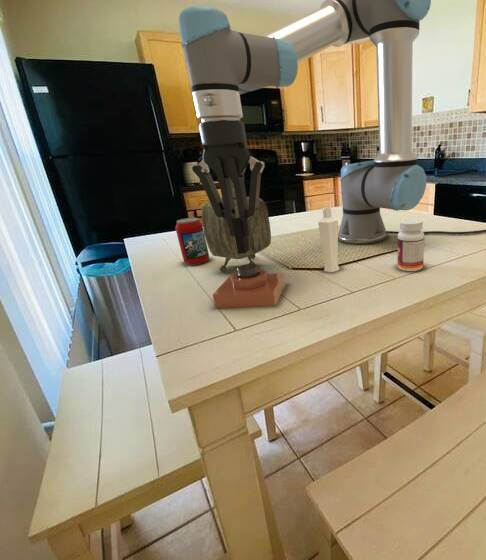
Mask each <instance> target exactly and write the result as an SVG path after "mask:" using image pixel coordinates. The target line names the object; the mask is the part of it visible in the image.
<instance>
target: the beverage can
mask: <svg viewBox="0 0 486 560" xmlns="http://www.w3.org/2000/svg"><path fill="white" fill-rule="evenodd" d="M175 232H176V236H177V240H178V244H179V248H180V252H181V256H182V259H183V262H184V263H185V264H188V265H189V266H190V265H191V266H195V265H196V266H197V265H201V264H204V263H206V262H207V261H208V260H209V259H210V254H209V247H208V245H207V241H206V238H205V235H204V230H203V223H202V221H200V220H199V217H187V218H181V219H178V220H176V224H175Z"/></svg>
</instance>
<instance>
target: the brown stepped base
mask: <svg viewBox="0 0 486 560" xmlns="http://www.w3.org/2000/svg"><path fill="white" fill-rule="evenodd" d="M258 273H259V275H257V276H255V277H252V278H239V276H238V271H236V272H233V273H232V274H231V275H229V276H228V277H227V278H226V279H225V280H224V281H223V282H222V283H221V285H220V286H219V287H218V288H217V289H215V291H214V292H213V293H212V298H213V303H214V307H215V309H225V308H226V309H228V308H252V307H253V308H254V307H255V308H256V307H275V306H276V305H277V303H278V301H279V299H280V297H281V295H282V293H283V291H284V289H285V287H286V281H285V280H286V279H285V274H284V273H283V272H282V273H280V272H279V273H267V271H266V270H265V269H264V268H259V267H258Z"/></svg>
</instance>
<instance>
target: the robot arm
mask: <svg viewBox="0 0 486 560" xmlns="http://www.w3.org/2000/svg"><path fill="white" fill-rule="evenodd" d="M431 3H432V0H324V1H323V2H321V4H320V7H319V8H318V9H315V10H314V11H312V12H310V13H308V14H306V15H304V16H302V17H299V18H297V19H295V20H293V21H290V22H289V23H287V24H285V25H282V26H280V27H278V28H276V29H274V30H272V31H271V30H270V31H269V32H267V33H265V34H263V35H259V34H252V33H245V32H240V31H237V30H232V29H231V24H230V21H229V17H228V15H227V14H226V12H224V11H223V10H219V9H218V8H216V7H213V6H207V5H193V6H189V7H186V8H184V9H183V10H182V11H180V13H179V15H178V25H179V34H180V40H181V48H182V51H183V55H184V59H185V65H186V69H187V74H188V77H189V82H190V87H191V93H192V98H193V103H194V108H195V113H196V114H195V115H196V118H197V119H198V120H200V121H201V122H199V125H198V130H199V135H200V139H201V144H202V147H203V153H202V160H201V161H200V162H199V163H197V164H195V165H193V166H191V170H192V172H193V173H194V174H195V175H196V176H197V177H198V179H199V180H200V182H201V185H202V188H203V190H204V191H205V194H206V196H207V199H208V202H209V201H210V203H211V205H212V207H213V210H214V212H215V214H216V216H217V217H222V218H225V219H226V220H227V222H228V227H229V232H230V235H231V236H235V239H236V245H237V250H238V254H244V253H247V252H248V251H249V250H250V248H249V242H248V236H249V235H250V234H251V226H250V220H249V218H250V216H253V215H255V214H256V213H257V212H258V205H259V198H260V191H261V180H262V174H263V171H264V169H265V167H266V163H265V161H263V160H258V159H257V158H255V157H253V156H252V155H253V154H252V152H251V150H250V149H249V147H248V140H247V133H246V127H245V123H244V122H243V121H241V119H243V117H244V115H243V108H242V102H241V96H240V95H243V94H247V93H250V92H254V91H257V90H260V89H264V88H266V87H275V88H276V89H278V88H288V87H290V86H292V85H293V84H294V83H295V81H296V78H297V75H298V70H299V64H300V63H302V62H304V61H306V60H308V59H310V58H311V57H314V56H315V55H317V54H320V53H321V52H323V51H325V50H327V49H328V48H331V47H335V48H340V47H342V46H344V45H346V44H348V43H352V42H354V41H360V40H362V39H367V38H369V41H370V42H371V43H372V44H373V45H374V47H375V48H376V49H375V50H376V83H377V84H376V85H377V86H376V87H377V122H378V123H377V124H378V154H377V155H376V157H375V158H374V159H373V160H366V161H360V162H355V163H349V164H345V165H343V166H342V167H341V169H340V179H339V180H340V189H341V190H340V191H341V204H342V219H341V222H340V226H339V229H338V241H340V242H342V243H345V244H350V245H369V244H374V243H379V242H382V241H384V240H385V239H386V238H387V234H391V235H393V234H394V235H398V233H399V232H400V231H393V230H387V229H386V227H385V224H384V220H383V218H382V215H381V209H387V210H393V211H397V212H398V211H410V210H412V209H414V208H416V206H418V205H419V203H420V202H421V200H423V197H424V194H425V192H426V189H427V173H426V172H425V169H424V168H423V167H421V166H420V165H419V164H418V162H419V161H418V156H417V155H416V154H415V153H414V152H413V53H414V52H413V49H414V48H413V46H414V42H415V41H416V39H417V38H418V36H419V35H420V21H422V20H423V19H424V18H426V16H427V15H428V13H429V11H430V9H431ZM248 167H249V169H250V171H251V173H250V182H249V195H248V196H247V191H246V186H245V185H246V184H245V172H246V170H247V168H248ZM210 171H212V172H213V173H214V174H215V175H216V179H217V183H218V185H219V189H220V193H221V194H220V193H219V191H218V188H217V186H216V184H215V182H214V179H213V177H212V175H211V173H210ZM231 180H232V182H233V184H234V185H233V186H234V189H235V195H236V201H237V206H238V212H239V217H238V218H236V216H237V214H236V211H235V205H234V199H233V193H232V188H231ZM247 197H249V207H248V203H247ZM221 198H222V200H223V202H222V200H221ZM422 232H423V233H424V235H429V234H437V235H439V234H440V235H441V234H442V235H471V234H480V233H482V234H483V233H486V229H479V230H470V231H445V230H444V231H442V230H441V231H440V230H432V231H431V230H430V231H429V230H428V231H422Z"/></svg>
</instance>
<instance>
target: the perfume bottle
mask: <svg viewBox="0 0 486 560" xmlns="http://www.w3.org/2000/svg"><path fill="white" fill-rule="evenodd" d="M321 210H322V216H323V217H322V218H321V219H319V220H317V223H318V231H319V236H320V243H321V250H322V255H323V262H324V268H323V272H327V273H334V272H337V271H340V265H339V264H338V263H339V261H338V258H339V257H338V256H339V255H338V254H339V251H338V248H339V246H338V245H339V244H338V243H339V220H338V219H337V218H334V217H333V215H332V208H331V207H323V208H322V209H321Z"/></svg>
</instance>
